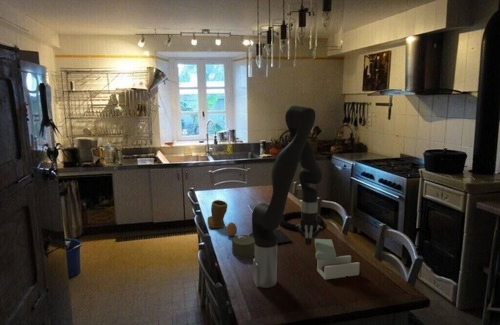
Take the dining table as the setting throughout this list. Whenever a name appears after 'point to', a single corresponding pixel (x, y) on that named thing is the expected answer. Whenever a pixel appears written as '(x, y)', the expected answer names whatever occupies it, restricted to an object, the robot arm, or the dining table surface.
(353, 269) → the curved white channel
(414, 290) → the dining table surface
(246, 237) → the can
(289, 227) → the cable lock
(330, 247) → the cover
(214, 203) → the brown boot
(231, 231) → the egg
